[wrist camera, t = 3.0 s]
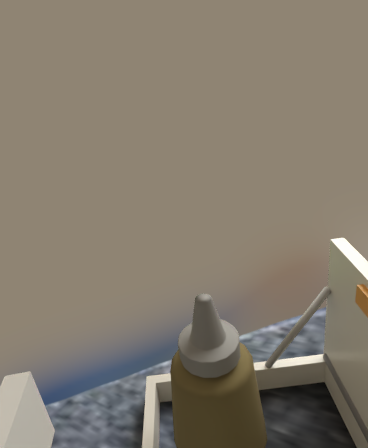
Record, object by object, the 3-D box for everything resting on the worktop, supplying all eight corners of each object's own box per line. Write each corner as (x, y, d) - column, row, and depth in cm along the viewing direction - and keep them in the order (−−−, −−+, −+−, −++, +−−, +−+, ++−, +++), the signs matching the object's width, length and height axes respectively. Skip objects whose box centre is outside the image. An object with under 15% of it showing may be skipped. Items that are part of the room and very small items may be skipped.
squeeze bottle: (282, 496, 29) (280, 327, 21) (185, 517, 28) (147, 351, 21) (252, 409, 36) (243, 260, 28) (175, 424, 36) (145, 277, 28)
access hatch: (333, 372, 39) (343, 237, 32) (422, 540, 25) (476, 370, 18) (151, 395, 39) (120, 266, 32) (142, 573, 25) (85, 418, 18)
